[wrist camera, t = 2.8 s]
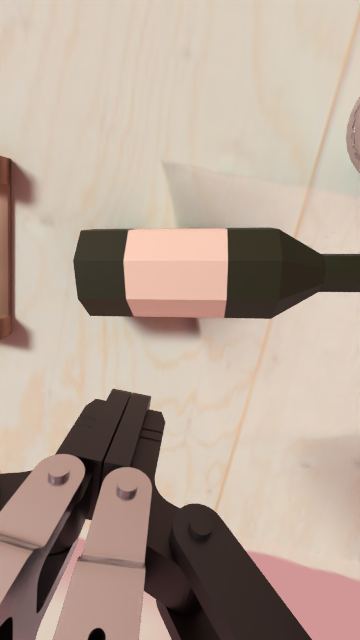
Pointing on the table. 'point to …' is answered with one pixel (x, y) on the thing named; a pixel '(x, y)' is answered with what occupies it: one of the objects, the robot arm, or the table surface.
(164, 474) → the table surface
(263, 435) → the table surface
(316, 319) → the table surface
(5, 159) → the u rest
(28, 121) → the table surface
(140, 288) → the wine bottle
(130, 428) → the robot arm
